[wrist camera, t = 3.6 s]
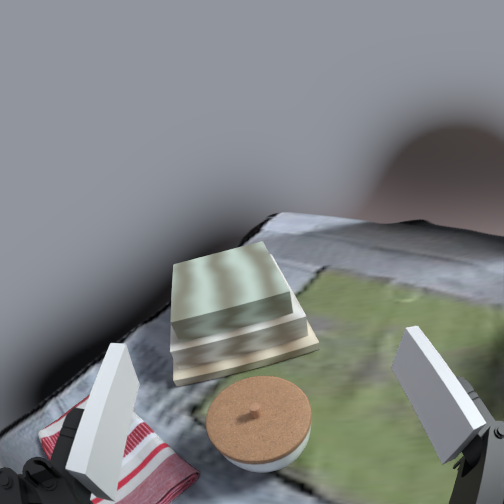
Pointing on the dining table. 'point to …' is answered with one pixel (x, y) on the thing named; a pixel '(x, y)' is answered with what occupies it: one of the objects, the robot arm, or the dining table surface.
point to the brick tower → (234, 316)
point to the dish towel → (138, 464)
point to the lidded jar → (260, 423)
